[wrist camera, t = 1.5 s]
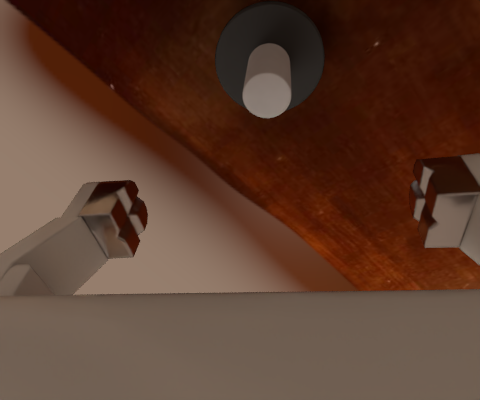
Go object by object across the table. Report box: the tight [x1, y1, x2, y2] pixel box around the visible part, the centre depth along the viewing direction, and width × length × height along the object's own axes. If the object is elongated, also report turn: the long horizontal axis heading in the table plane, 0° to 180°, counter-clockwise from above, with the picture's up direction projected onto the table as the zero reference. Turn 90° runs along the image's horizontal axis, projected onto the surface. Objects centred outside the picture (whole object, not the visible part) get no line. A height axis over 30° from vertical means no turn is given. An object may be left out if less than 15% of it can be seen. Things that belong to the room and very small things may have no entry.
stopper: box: [215, 1, 325, 118], centre depth 17 cm, size 5×5×6 cm
